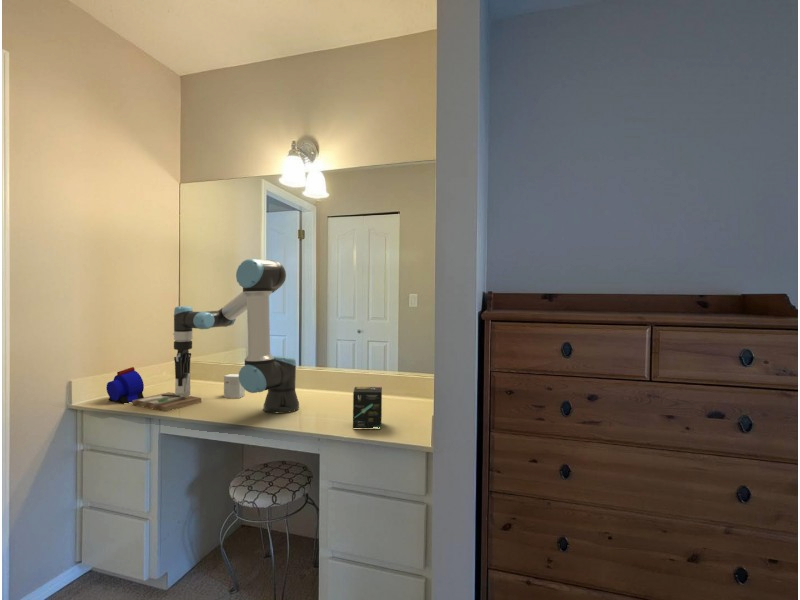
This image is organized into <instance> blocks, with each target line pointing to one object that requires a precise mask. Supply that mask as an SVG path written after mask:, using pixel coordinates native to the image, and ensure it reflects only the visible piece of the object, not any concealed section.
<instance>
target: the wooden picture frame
mask: <svg viewBox="0 0 800 600" xmlns="http://www.w3.org/2000/svg"><path fill="white" fill-rule="evenodd" d="M162 394H169V395H175V392H169V391H168V392H163V393H159V394H155V395H149V396H147V397H145V396H144V398H141V399H136V400H132V404H134V405H133V406H136V405H139V406H138V407H141V406H144V407H143V408H146V407H148V408H147V409H151V408H153V409H152V410H156V409H159V410H158V411H161V410H164V411H163V412H169V411H168V410H170V411H173V410H172V409H174V410H177V409H181V408H184V406H185V407H188V405H189V406H192V404H193V405H195V404H199V403H202V397H200V396H199V397H198V396H192V395H189V396H186V397H184V398H180V397H167V396H162ZM180 407H181V408H180ZM176 408H177V409H176Z"/></svg>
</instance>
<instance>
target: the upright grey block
mask: <svg viewBox="0 0 800 600" xmlns="http://www.w3.org/2000/svg"><path fill="white" fill-rule="evenodd" d="M184 378H185V392H184V393H178V379H175V382H174V384H175V385H174V386H175V390H174V393H175V395H169V394H163V393H161V394H162V396H167V397H180V398H184V397H186V396H191V372H190V373H184Z"/></svg>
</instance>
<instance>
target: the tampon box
mask: <svg viewBox="0 0 800 600" xmlns="http://www.w3.org/2000/svg"><path fill="white" fill-rule="evenodd" d="M382 392H383V388H382V386H355V387H354V389H353V395H352V396H353V398H352V399H353V401H352V403H353V404H352V429H353V428H373V427H378V428H379V427H381V428H382V415H383V412H382V410H383V408H382V405H383V400H382V399H383V395H382Z"/></svg>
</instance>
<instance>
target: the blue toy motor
mask: <svg viewBox="0 0 800 600" xmlns="http://www.w3.org/2000/svg"><path fill="white" fill-rule="evenodd" d="M144 389H145V386H144V380H143V378H142V376H141V375H140V373H139V372H138V371H136V369H135V368H134V367H133V366H131V367H129V368H125V369H123V370H120V371H117V372H116V375H115V376H114V378H113V380H110V381H108V382H107V383H106V392H107V395H108V397H109V398H108V400H110V401H113V402H115V401H120V403H121V404H123V405H125V404H124V403H128V404H130V403H129V402H132V400H136V399H141V398H145V396H144V394H143V392H144Z"/></svg>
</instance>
